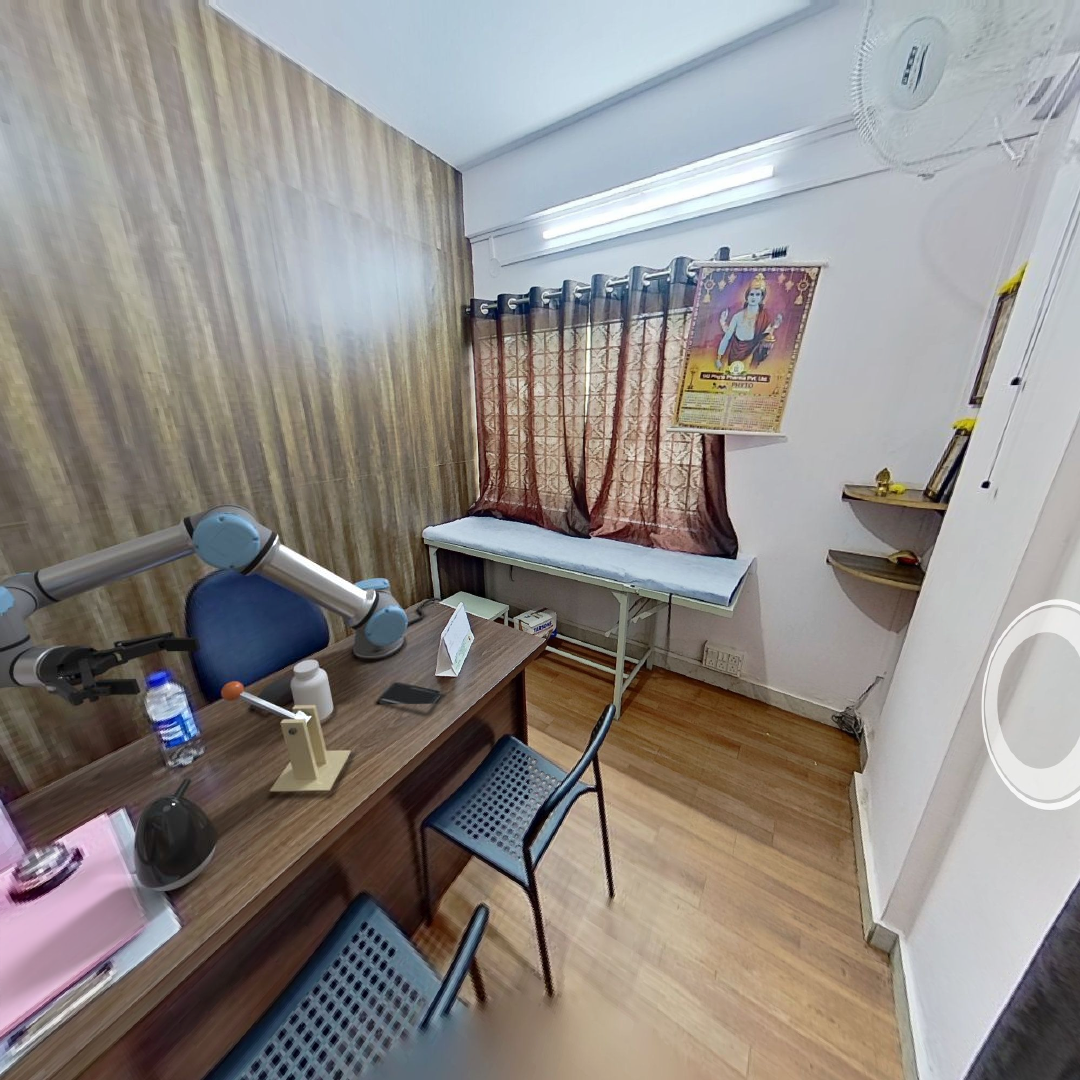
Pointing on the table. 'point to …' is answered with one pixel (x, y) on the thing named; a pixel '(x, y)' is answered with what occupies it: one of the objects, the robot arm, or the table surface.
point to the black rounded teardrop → (173, 841)
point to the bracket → (308, 755)
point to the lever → (258, 701)
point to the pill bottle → (312, 687)
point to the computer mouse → (277, 692)
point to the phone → (409, 695)
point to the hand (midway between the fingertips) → (169, 663)
